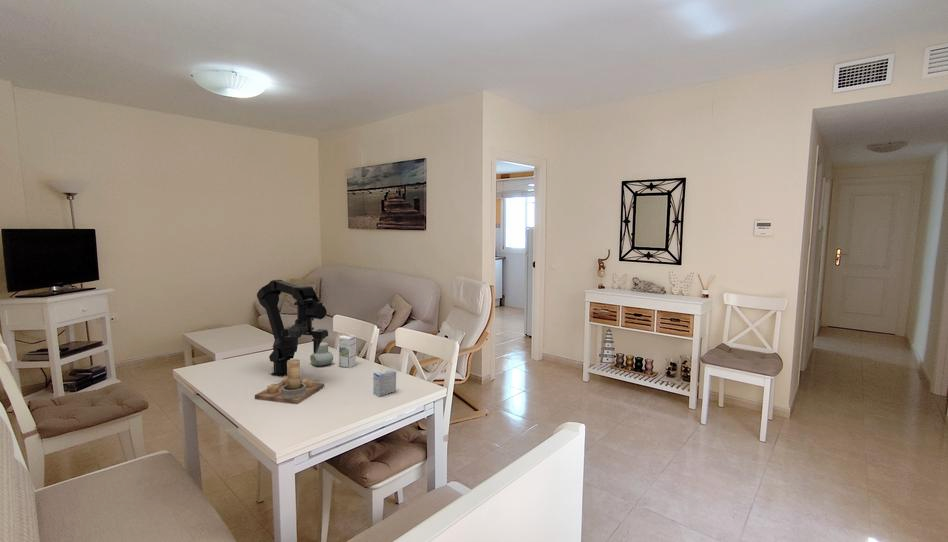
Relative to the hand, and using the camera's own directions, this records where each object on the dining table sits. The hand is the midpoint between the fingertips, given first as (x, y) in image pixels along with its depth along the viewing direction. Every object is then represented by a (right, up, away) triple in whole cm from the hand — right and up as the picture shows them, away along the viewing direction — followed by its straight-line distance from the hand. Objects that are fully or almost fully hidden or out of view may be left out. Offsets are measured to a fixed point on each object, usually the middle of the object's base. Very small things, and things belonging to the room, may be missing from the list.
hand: (305, 352), depth 182 cm
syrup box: (+12, -11, +22) cm, 27 cm away
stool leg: (+3, -12, -19) cm, 23 cm away
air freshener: (-1, -10, +24) cm, 26 cm away
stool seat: (0, -13, -13) cm, 19 cm away
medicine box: (+36, -14, -11) cm, 40 cm away
